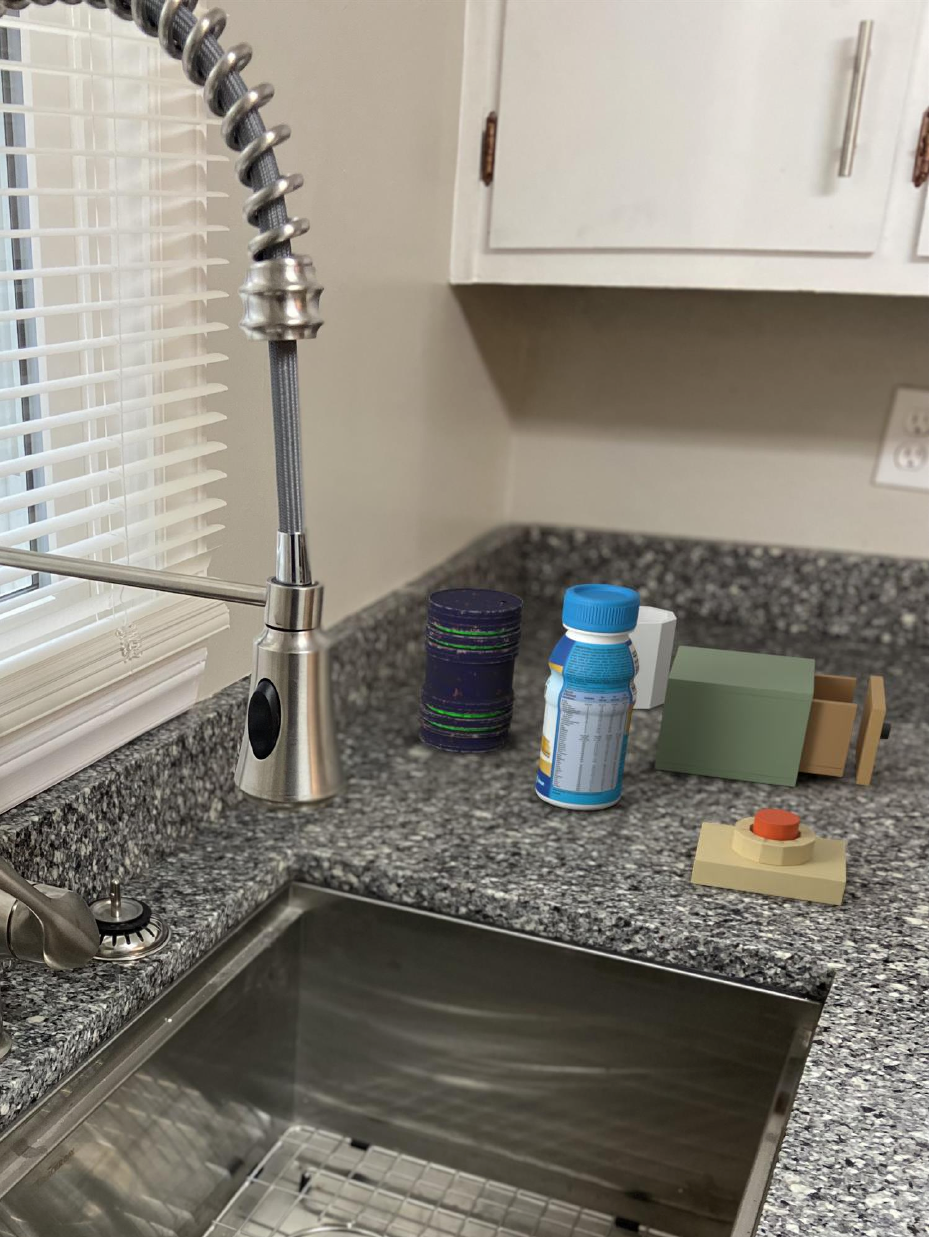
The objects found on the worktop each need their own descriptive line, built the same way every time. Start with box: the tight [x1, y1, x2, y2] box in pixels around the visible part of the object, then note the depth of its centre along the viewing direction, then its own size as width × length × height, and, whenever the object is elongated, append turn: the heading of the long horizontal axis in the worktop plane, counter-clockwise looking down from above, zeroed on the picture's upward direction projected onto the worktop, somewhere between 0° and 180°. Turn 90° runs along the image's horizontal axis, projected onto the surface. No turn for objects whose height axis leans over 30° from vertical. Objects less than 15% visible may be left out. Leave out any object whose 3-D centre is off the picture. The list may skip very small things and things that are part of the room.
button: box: [752, 808, 801, 841], centre depth 123 cm, size 4×4×2 cm
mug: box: [628, 605, 678, 710], centre depth 167 cm, size 12×9×10 cm
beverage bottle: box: [534, 583, 641, 811], centre depth 136 cm, size 8×8×20 cm
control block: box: [690, 816, 847, 906], centre depth 124 cm, size 12×9×4 cm
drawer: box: [798, 673, 892, 786], centre depth 146 cm, size 14×11×8 cm
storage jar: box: [418, 587, 524, 754], centre depth 153 cm, size 10×10×15 cm
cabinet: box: [653, 645, 816, 788], centre depth 149 cm, size 14×13×10 cm
